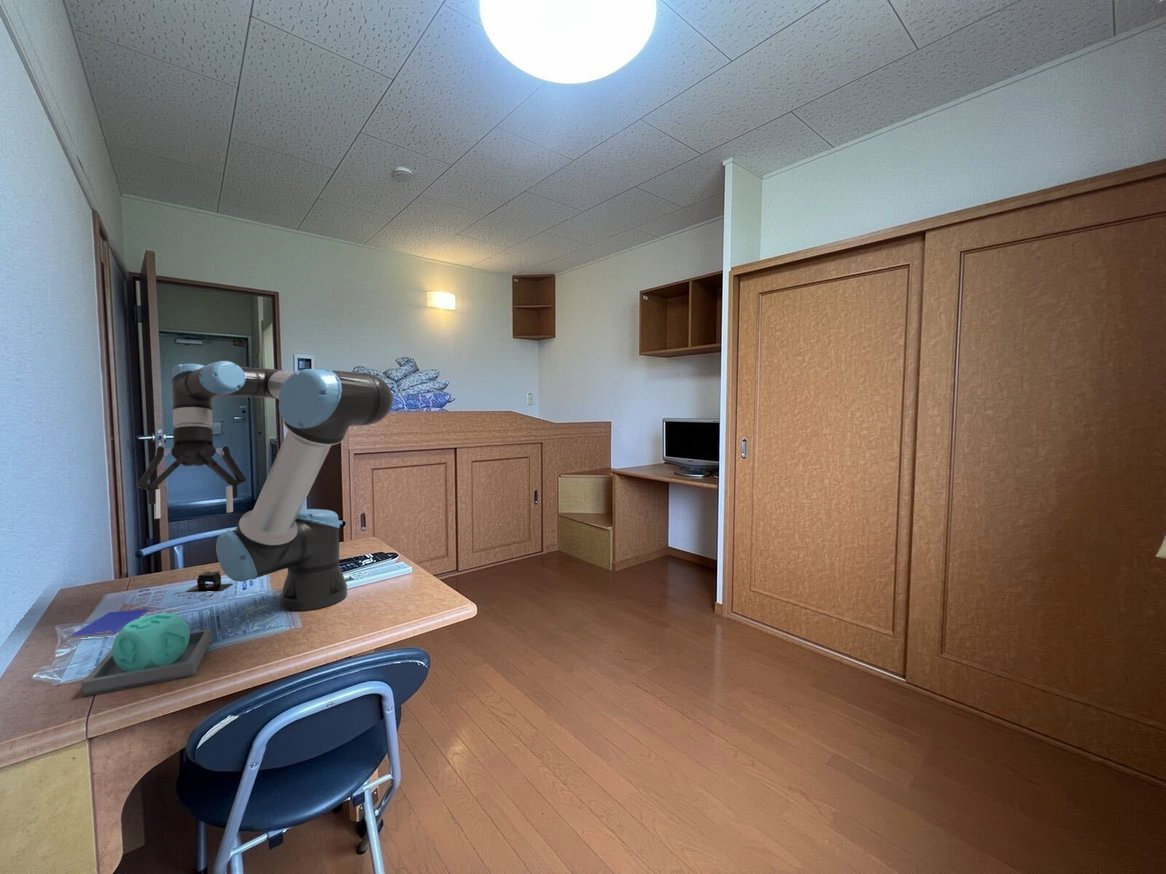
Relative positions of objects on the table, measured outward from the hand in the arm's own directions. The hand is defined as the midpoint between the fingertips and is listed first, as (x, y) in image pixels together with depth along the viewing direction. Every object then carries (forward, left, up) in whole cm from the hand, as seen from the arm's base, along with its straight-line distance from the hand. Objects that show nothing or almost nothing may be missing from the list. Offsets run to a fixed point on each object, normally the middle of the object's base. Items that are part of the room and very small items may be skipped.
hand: (195, 515), depth 114 cm
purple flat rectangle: (+15, +2, -24) cm, 29 cm away
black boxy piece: (+1, -16, -24) cm, 29 cm away
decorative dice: (+2, +27, -23) cm, 35 cm away
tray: (+1, +27, -23) cm, 35 cm away
